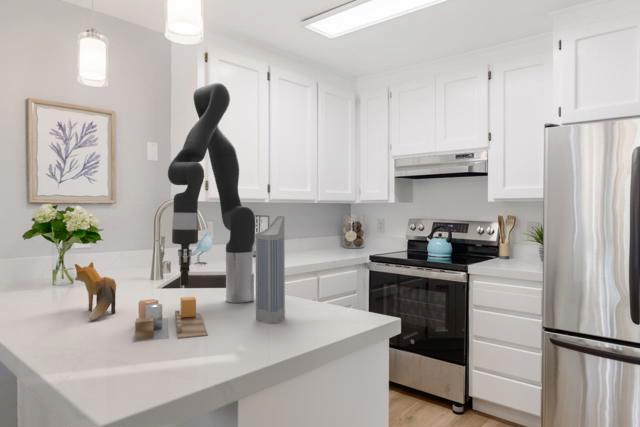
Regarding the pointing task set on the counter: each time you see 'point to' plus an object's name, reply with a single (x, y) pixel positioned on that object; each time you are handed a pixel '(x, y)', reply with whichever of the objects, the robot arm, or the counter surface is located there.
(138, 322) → the oak block
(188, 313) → the orange block
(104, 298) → the toy
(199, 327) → the rail
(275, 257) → the building model
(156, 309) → the metal canister
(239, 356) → the counter surface
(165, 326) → the slate tray
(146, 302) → the salmon domed cylinder
